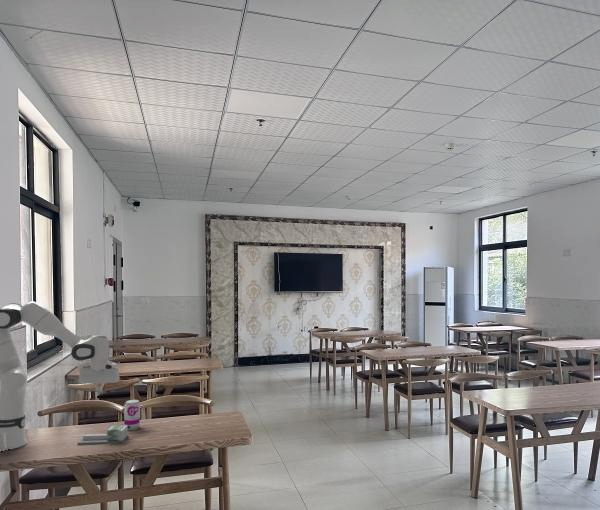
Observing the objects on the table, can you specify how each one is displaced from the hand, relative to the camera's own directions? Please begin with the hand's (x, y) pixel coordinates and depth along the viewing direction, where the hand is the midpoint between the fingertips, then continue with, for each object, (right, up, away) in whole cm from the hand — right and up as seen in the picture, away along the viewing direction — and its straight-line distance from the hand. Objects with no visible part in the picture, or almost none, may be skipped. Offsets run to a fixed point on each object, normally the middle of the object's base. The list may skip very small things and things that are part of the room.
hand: (98, 391), depth 235 cm
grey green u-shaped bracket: (+6, -24, -7) cm, 25 cm away
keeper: (+12, -22, -7) cm, 26 cm away
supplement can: (+13, -25, +12) cm, 31 cm away
